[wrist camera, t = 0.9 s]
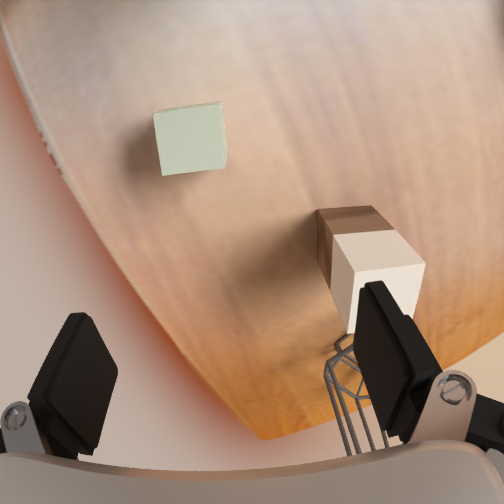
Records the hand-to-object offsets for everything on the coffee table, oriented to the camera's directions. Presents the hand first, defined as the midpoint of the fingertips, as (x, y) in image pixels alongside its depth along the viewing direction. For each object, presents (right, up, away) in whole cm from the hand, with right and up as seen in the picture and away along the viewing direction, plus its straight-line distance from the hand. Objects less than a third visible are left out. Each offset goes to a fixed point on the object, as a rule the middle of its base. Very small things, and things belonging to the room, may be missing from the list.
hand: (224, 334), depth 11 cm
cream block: (+11, +2, +18) cm, 21 cm away
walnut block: (+11, +5, +24) cm, 26 cm away
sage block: (-4, +14, +18) cm, 23 cm away
